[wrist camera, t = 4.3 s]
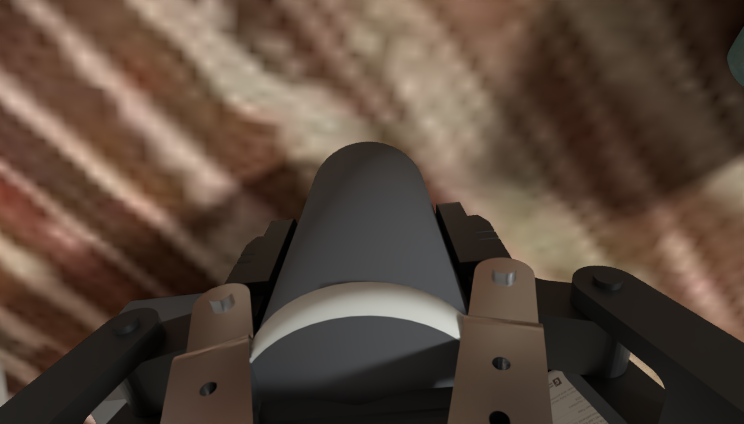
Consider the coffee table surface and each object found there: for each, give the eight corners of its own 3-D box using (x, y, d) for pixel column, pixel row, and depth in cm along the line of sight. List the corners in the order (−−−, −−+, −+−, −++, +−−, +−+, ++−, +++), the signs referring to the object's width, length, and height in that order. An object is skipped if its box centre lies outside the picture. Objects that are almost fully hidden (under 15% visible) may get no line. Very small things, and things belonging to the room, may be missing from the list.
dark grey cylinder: (301, 147, 15) (196, 327, 6) (423, 134, 15) (507, 299, 6) (321, 252, 17) (265, 508, 8) (429, 241, 17) (500, 490, 8)
